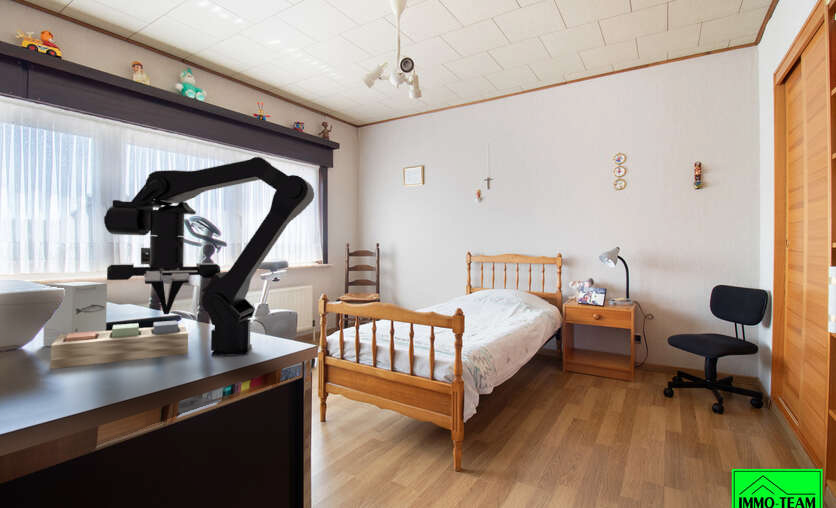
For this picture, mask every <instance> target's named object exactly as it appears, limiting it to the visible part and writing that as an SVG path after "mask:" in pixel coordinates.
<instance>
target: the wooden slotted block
mask: <svg viewBox="0 0 836 508" xmlns="http://www.w3.org/2000/svg"><path fill="white" fill-rule="evenodd" d="M153 327H154V326H152V327H139V335H137V336H126V337H114V338H112V329H111V330H106V331H98V332H97V339H90V340H78V341H66V337H67V335H68V334H60V335H59V336H58V337H57V339H56V340H55V341H54V343H53V344H52V345H51V346H50V349H51V350H50V351H51V352H50V355H51V356H50V361H51V362H50V369H51V370H54V369H63V368H72V367H80V366H81V367H82V366H90V365H98V364H106V363H108V364H109V363H115V362H116V363H118V362H125V361H133V360H143V359H144V360H145V359H152V358H161V357H169V356H179V355H188V352H189V332H188V330H187V329H186V326H185V325H184V324H182V325H181V324H178V332H173V333H161V334H153Z"/></svg>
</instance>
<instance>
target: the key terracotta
mask: <svg viewBox="0 0 836 508" xmlns="http://www.w3.org/2000/svg"><path fill="white" fill-rule="evenodd" d="M90 339H97V331H93V332H80V333H69V334H68V335H67V337H66V341H78V340H90Z"/></svg>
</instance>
